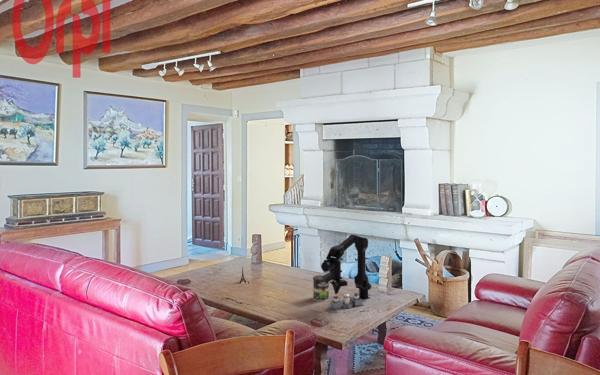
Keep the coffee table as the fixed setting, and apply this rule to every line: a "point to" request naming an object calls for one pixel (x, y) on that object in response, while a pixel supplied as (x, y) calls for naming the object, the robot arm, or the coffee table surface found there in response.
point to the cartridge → (346, 299)
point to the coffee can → (320, 289)
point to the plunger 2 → (356, 296)
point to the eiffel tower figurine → (242, 278)
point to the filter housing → (341, 305)
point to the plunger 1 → (336, 299)
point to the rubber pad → (331, 311)
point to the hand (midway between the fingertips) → (336, 294)
